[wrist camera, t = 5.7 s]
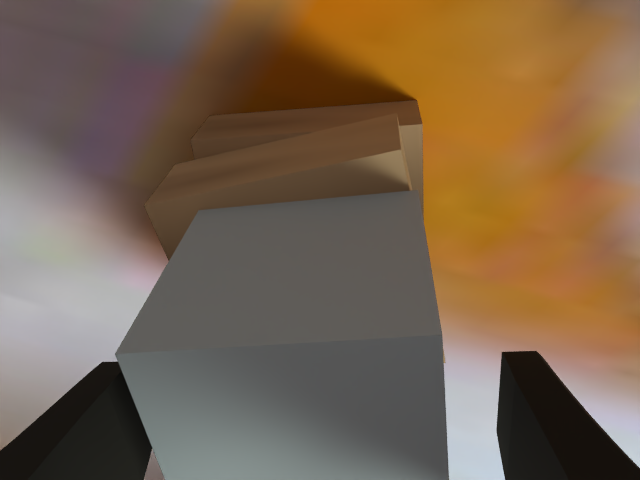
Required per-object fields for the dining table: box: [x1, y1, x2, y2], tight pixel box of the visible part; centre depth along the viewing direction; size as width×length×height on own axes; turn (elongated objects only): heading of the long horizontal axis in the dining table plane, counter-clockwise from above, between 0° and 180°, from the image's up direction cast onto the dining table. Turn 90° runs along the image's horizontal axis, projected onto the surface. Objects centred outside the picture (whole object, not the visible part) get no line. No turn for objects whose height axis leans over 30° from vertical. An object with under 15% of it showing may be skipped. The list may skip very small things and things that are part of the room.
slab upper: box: [144, 113, 445, 363], centre depth 15 cm, size 6×6×2 cm
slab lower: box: [190, 100, 424, 222], centre depth 17 cm, size 6×6×2 cm
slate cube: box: [115, 190, 449, 480], centre depth 12 cm, size 5×5×5 cm
